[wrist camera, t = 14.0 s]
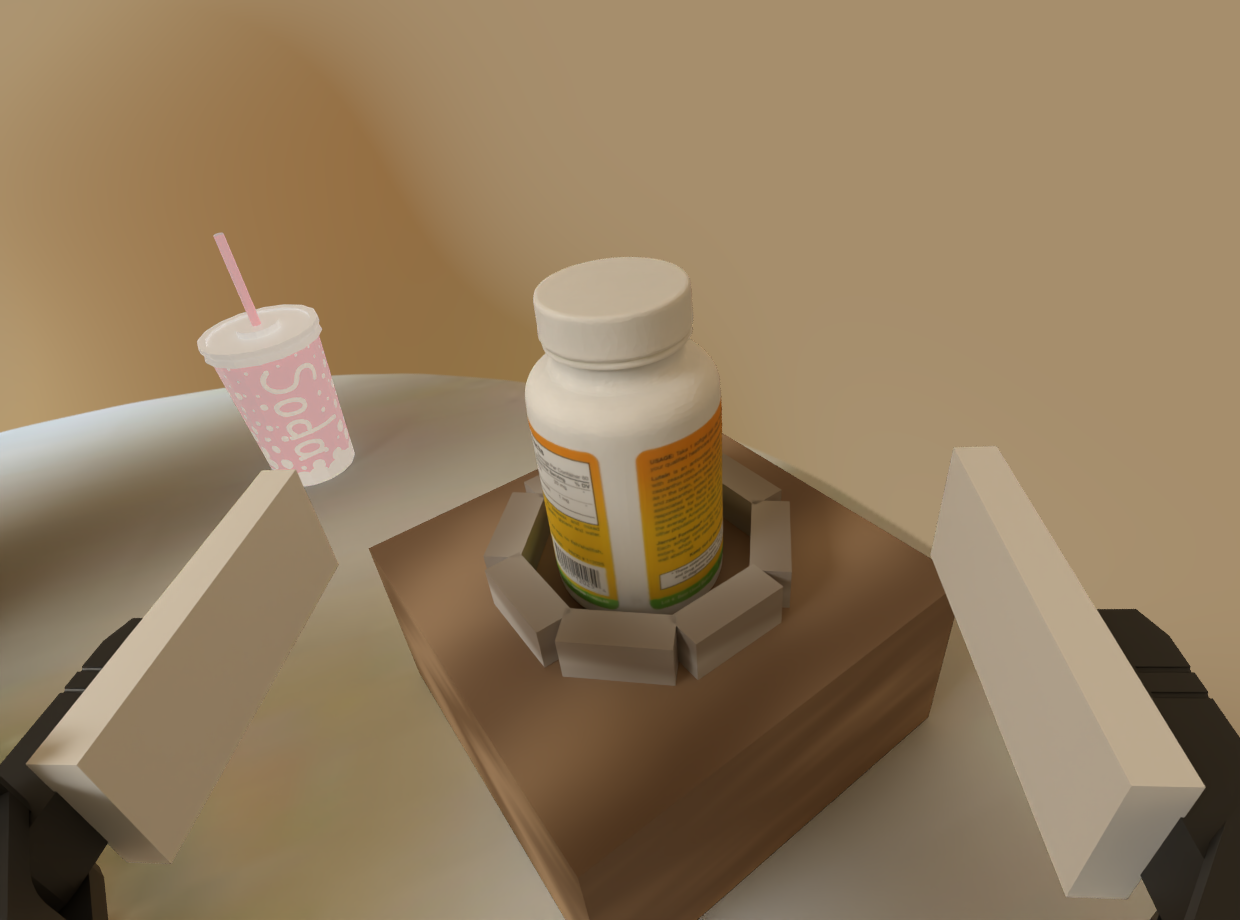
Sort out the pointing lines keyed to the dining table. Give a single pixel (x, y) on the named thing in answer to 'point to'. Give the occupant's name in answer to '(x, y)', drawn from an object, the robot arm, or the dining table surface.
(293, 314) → the beverage cup
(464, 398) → the dining table surface
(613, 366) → the supplement bottle
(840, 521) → the carrier block
